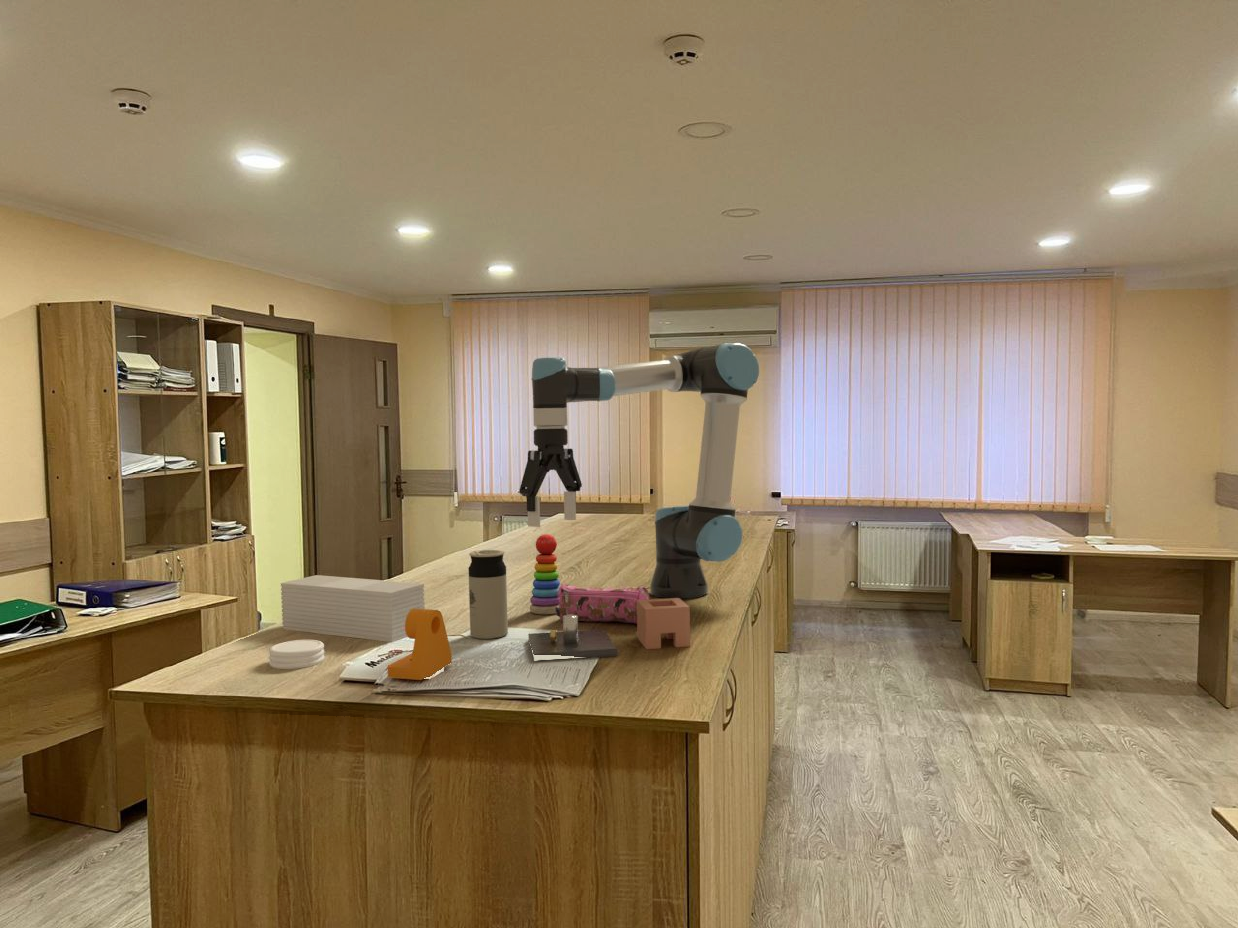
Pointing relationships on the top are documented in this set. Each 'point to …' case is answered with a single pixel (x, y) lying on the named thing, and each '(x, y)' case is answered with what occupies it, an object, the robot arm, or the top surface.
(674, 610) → the hollow square tube
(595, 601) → the pencil case
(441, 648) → the bracket
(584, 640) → the post plate
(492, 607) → the travel mug
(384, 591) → the stack of papers
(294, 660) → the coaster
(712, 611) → the top surface
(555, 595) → the stacking toy
